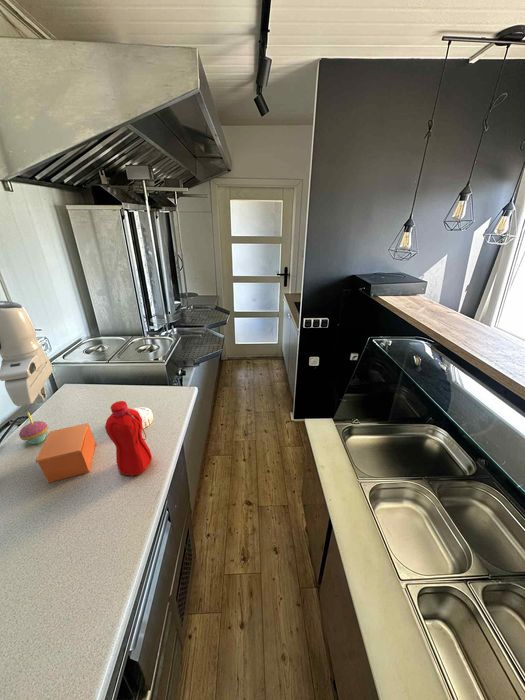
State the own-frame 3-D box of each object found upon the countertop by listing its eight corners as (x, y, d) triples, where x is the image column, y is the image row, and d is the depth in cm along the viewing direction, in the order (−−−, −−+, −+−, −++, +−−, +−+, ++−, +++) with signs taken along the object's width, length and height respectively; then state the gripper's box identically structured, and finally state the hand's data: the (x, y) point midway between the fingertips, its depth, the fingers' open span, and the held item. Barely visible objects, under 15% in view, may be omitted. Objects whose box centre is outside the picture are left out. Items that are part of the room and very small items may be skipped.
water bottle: (146, 479, 90) (128, 416, 79) (115, 475, 92) (93, 412, 81) (160, 457, 98) (146, 397, 87) (131, 453, 100) (114, 394, 89)
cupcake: (27, 436, 109) (14, 411, 104) (53, 429, 112) (42, 404, 107) (22, 451, 102) (8, 425, 97) (50, 443, 106) (38, 417, 100)
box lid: (80, 452, 89) (79, 450, 88) (36, 462, 85) (35, 460, 85) (88, 424, 101) (88, 422, 101) (50, 433, 98) (50, 431, 97)
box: (89, 471, 93) (81, 452, 89) (48, 482, 90) (38, 462, 86) (95, 443, 105) (88, 424, 101) (59, 452, 101) (51, 433, 98)
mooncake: (117, 421, 116) (115, 414, 114) (146, 409, 123) (144, 402, 121) (127, 437, 108) (125, 429, 106) (158, 422, 115) (156, 415, 113)
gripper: (25, 346, 87) (41, 384, 93) (-6, 379, 69) (16, 424, 75) (49, 343, 89) (63, 381, 95) (25, 374, 71) (44, 418, 77)
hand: (42, 400), depth 85 cm, fingers closed
